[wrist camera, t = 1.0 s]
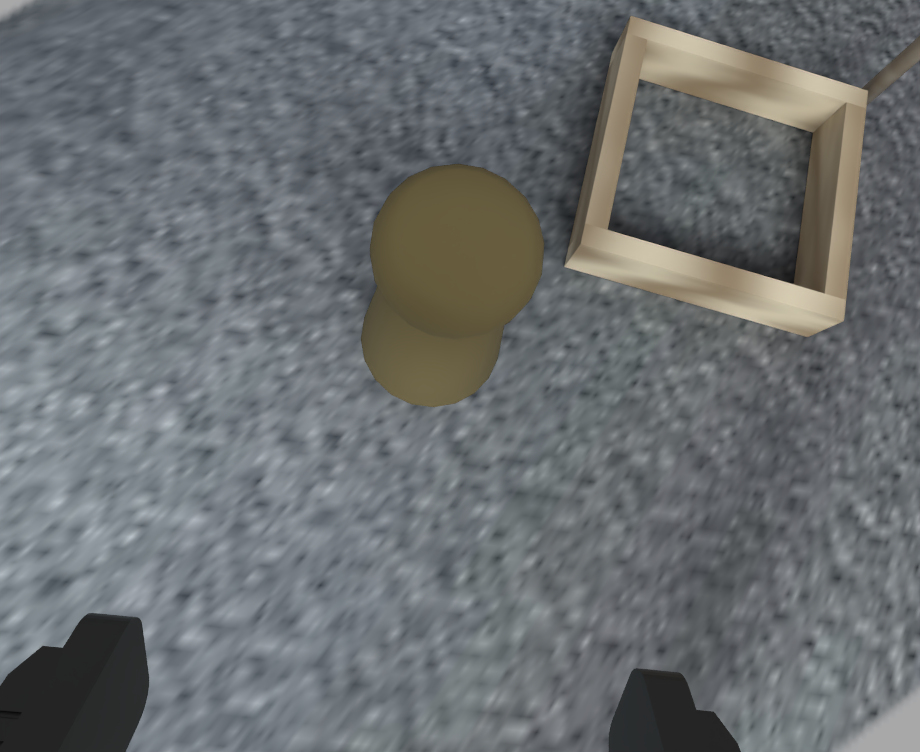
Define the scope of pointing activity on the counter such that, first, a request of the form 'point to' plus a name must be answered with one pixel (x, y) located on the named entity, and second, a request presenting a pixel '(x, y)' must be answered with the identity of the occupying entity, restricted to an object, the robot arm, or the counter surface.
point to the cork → (447, 281)
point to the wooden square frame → (757, 92)
